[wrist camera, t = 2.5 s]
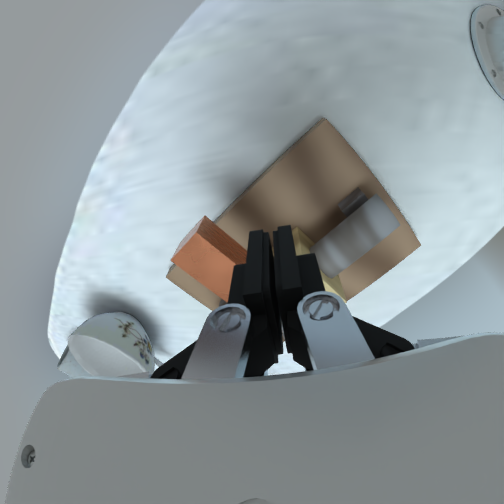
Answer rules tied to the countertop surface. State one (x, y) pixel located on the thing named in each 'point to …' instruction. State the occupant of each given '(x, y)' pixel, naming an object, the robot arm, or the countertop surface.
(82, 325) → the teacup
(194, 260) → the valve lever
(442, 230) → the countertop surface
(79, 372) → the ceramic mug
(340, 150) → the stand
